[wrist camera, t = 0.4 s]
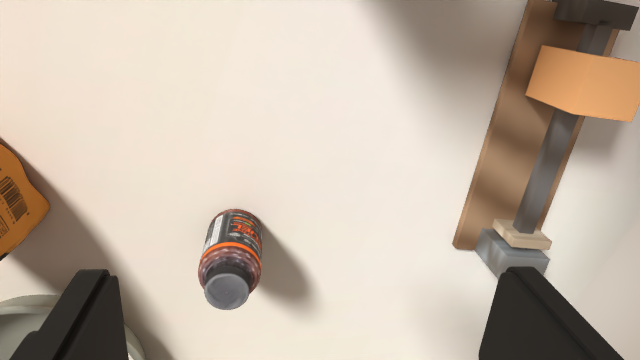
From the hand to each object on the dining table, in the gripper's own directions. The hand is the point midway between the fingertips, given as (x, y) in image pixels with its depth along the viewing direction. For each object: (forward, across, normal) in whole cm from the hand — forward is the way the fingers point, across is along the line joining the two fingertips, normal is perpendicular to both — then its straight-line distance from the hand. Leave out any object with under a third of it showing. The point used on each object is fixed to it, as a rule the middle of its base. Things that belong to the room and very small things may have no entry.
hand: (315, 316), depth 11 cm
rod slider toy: (+35, -28, +6) cm, 45 cm away
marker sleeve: (+34, -29, -1) cm, 44 cm away
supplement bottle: (+36, +4, +18) cm, 40 cm away
